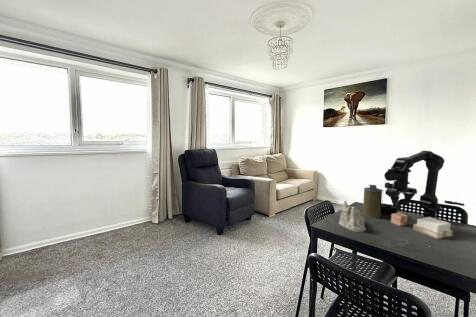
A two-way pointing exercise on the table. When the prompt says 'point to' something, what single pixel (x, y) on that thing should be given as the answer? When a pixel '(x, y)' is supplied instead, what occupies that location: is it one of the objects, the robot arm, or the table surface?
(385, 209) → the end cap
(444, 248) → the table surface
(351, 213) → the ceramic cottage
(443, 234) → the birch base slab
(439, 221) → the cream top slab
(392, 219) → the terracotta cube
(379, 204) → the canister
